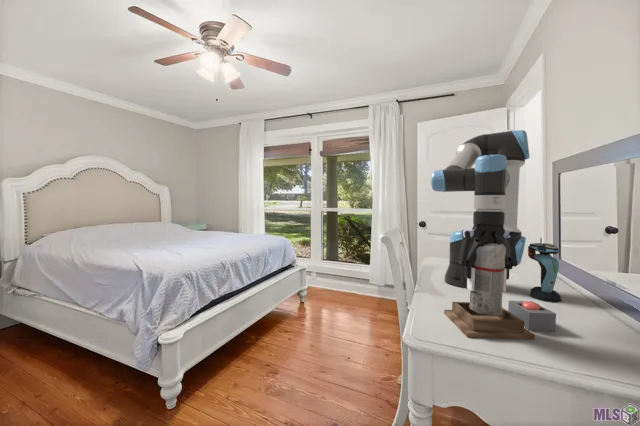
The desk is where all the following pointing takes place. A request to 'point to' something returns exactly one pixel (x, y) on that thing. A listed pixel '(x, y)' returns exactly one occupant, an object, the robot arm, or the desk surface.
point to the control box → (533, 317)
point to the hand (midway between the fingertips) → (485, 289)
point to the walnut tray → (487, 323)
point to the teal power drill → (545, 271)
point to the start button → (531, 305)
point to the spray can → (488, 279)
